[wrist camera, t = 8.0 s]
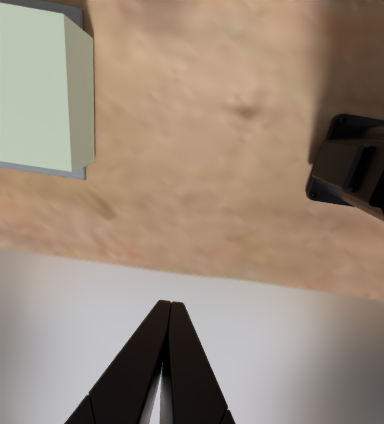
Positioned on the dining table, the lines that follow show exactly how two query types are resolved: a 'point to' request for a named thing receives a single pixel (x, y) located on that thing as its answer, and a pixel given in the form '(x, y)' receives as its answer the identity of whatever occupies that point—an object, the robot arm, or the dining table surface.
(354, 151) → the robot arm
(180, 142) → the dining table surface
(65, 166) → the slab
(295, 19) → the dining table surface
